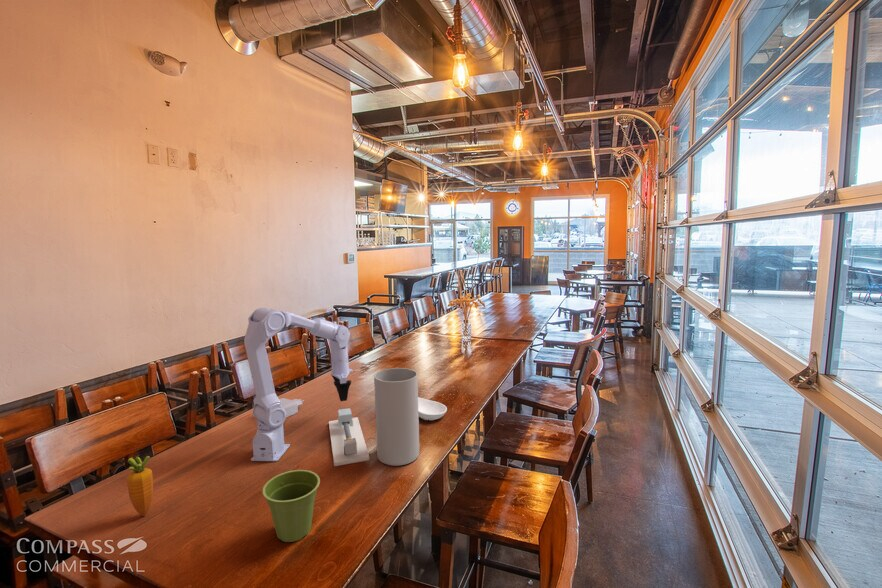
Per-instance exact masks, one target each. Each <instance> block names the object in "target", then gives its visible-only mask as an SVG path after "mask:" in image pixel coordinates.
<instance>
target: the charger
mask: <svg viewBox="0 0 882 588" xmlns="http://www.w3.org/2000/svg"><path fill="white" fill-rule="evenodd" d="M279 400H280V401H281V405H282V407H283V408H284V409H285V410H286V419H287V418H289V417H291V416H293V415H296V414H298V410H299V409H298V408H299V407H300V406H302V405H303V403H304V401H305V399H303V400H302V399H301V398H299V399H298V398H294V399H288V398H283V397H281V398H279Z"/></svg>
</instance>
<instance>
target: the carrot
mask: <svg viewBox="0 0 882 588" xmlns="http://www.w3.org/2000/svg"><path fill="white" fill-rule="evenodd" d="M150 459H151V458H150V456H148V455H146V456H145V457H144V460H143V461H142V459H141V458H140V457H139V456H136V457H135V459H134V458H133V457H130V458H128V460H127V463H129V464H130V465H131V466H129V467H128V470H131V472H129V474H128V475H127V477H126V485H127V491H128V495H129V499H130V502H131V504H132V506H133V508H134V509H135V511H136V512H137V513H138V514H139V515H140V516H142V517H146V516H147V514H148V512H149V510H150V507H151V504H152V501H153V494H154V478H153V477H154V476H153V471H152V469H150V468H148V467H146V465H147V463H148V461H149V460H150Z"/></svg>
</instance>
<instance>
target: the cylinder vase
mask: <svg viewBox="0 0 882 588" xmlns="http://www.w3.org/2000/svg"><path fill="white" fill-rule="evenodd" d="M418 375H419V374H418V372H417V371H416V370H414V369H411V368H406V367H405V368H404V367H395V368H394V367H393V368H392V367H391V368H386V369H382V370H379V371H377V372H376V373H375V374H374V375H373V376H374V377H373V381H374V404H375V405H374V407H375V429H376V431H375V434H376V437H375V438H376V455H377V457H376V458H377V459H378V461H380V462H381V463H382V464H384V465H388V466H393V467H394V466H395V467H397V466H399V467H400V466H404V465H408V464H410V463H413V462H414V461H415V460H417V458H418V457H419V456H420V421H419V420H420V419H419V418H420V417H419V414H418V397H419V386H418V385H419V380H418Z"/></svg>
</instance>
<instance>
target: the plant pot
mask: <svg viewBox="0 0 882 588" xmlns="http://www.w3.org/2000/svg"><path fill="white" fill-rule="evenodd" d="M320 483H321V478H320V477H319V475H318V473H315V472H313V471H312V470H305V469H295V470H289V471H284V472H282V473H279V474H277V475H275V476H273V477H272V478H271V479H269V480H268V481H267V482H266V483H265V484H264V485H263V487H262V496H263V497H264V498H265V499H266V501H267V505H268V507H269V509H270V513H271V518H272V521H273V525H274V529H275V533H276V538H278V540H280V541H282V542H284V543H292V542H293V543H294V542H297V541H300V540H302V539H303V538H304V537H305V536H307V535H309V534H310V531H311V529H312V524H313V523H312V522H313V515H314V507H315V499H316V495H317V492H318V488H319V487H320Z"/></svg>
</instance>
